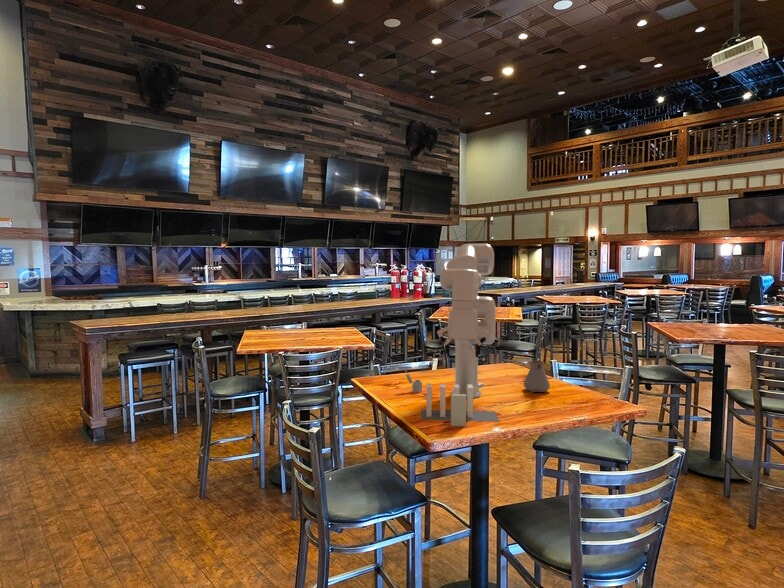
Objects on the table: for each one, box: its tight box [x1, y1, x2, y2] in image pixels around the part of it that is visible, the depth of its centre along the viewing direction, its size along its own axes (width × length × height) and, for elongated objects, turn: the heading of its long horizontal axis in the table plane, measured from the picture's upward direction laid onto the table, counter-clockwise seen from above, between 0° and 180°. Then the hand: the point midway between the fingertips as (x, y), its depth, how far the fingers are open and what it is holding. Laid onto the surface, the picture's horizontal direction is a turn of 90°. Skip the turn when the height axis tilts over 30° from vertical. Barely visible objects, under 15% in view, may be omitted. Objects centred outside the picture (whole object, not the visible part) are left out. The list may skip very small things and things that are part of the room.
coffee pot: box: [523, 360, 551, 393], centre depth 207 cm, size 21×12×15 cm, turn 167°
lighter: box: [405, 372, 423, 393], centre depth 209 cm, size 7×2×8 cm, turn 91°
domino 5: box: [466, 384, 474, 418], centre depth 174 cm, size 2×5×11 cm, turn 176°
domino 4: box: [450, 393, 467, 427], centre depth 164 cm, size 2×5×11 cm, turn 86°
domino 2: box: [439, 383, 447, 417], centre depth 175 cm, size 2×5×11 cm, turn 176°
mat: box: [420, 408, 501, 423], centre depth 175 cm, size 28×12×1 cm, turn 86°
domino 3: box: [453, 383, 459, 394], centre depth 175 cm, size 2×5×11 cm, turn 176°
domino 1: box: [425, 383, 433, 417], centre depth 176 cm, size 2×5×11 cm, turn 176°
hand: (462, 356), depth 160 cm, fingers open, 9 cm apart
